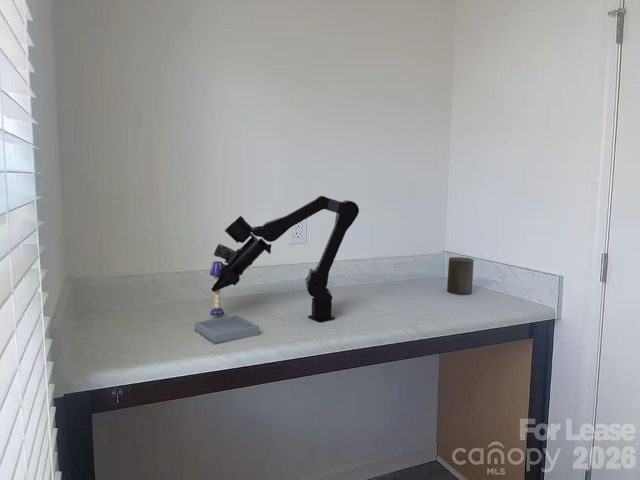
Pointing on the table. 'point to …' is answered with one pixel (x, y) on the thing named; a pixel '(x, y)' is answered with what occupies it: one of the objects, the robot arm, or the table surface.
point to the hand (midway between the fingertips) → (213, 289)
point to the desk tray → (226, 329)
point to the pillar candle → (460, 275)
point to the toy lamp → (216, 272)
